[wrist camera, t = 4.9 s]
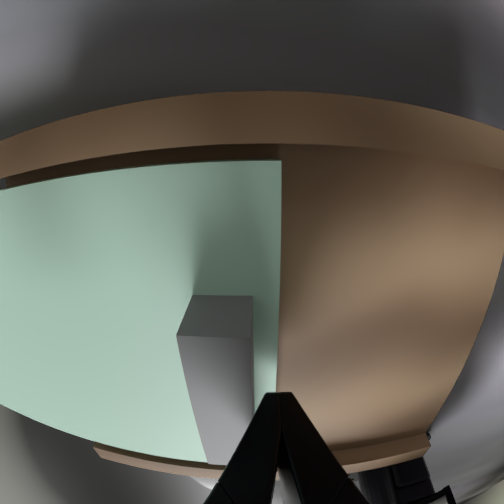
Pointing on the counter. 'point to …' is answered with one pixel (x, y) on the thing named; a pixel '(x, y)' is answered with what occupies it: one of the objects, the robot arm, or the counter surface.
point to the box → (332, 244)
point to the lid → (143, 303)
